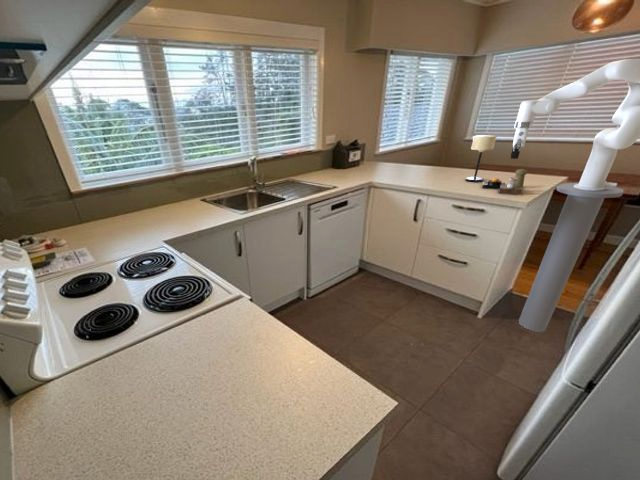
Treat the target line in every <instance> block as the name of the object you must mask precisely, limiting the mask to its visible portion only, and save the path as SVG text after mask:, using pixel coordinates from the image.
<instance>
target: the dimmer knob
mask: <svg viewBox="0 0 640 480" xmlns="http://www.w3.org/2000/svg"><path fill="white" fill-rule="evenodd" d="M517 181H518V178H515V177H509V178H508V181H507V184H506V185H507V187H508V188H515V187H516V184H517Z"/></svg>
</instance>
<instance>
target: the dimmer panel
mask: <svg viewBox="0 0 640 480" xmlns="http://www.w3.org/2000/svg"><path fill="white" fill-rule="evenodd" d="M507 185H508V184H505V185H500V189H498V194H500V195H501V194H502V195H514V196H515V195H517V196H521V195H522V192H523V188H522V186H516V187H515V188H508V187H507Z"/></svg>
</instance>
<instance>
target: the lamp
mask: <svg viewBox="0 0 640 480" xmlns="http://www.w3.org/2000/svg"><path fill="white" fill-rule="evenodd" d="M497 137H498V136H497V135H495V134H479V135H474V136H473V138H472V142H471V148H470V149H471V150H473V151H478V153H479V154H478V159H477V162H476V167H475V171H474V175H473V176H467V177H465V182H468V183H484V177H480V176H478V173H479V172H478V171H479V167H480V164H481V159H482V155H483V152H485V151H491V150H494V147H495V144H496V140H497Z"/></svg>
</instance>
